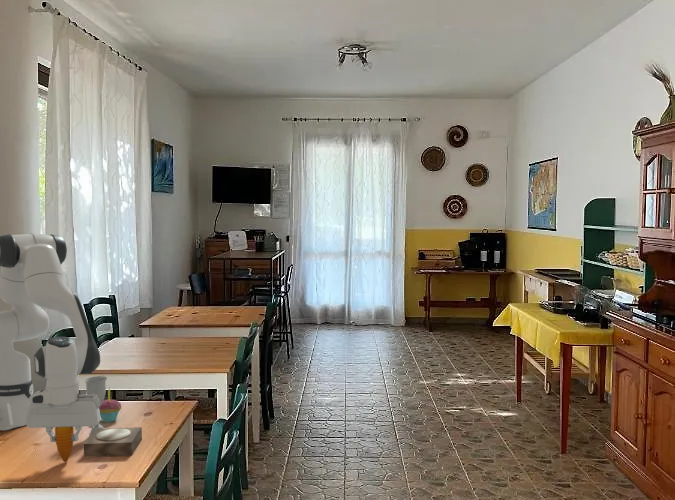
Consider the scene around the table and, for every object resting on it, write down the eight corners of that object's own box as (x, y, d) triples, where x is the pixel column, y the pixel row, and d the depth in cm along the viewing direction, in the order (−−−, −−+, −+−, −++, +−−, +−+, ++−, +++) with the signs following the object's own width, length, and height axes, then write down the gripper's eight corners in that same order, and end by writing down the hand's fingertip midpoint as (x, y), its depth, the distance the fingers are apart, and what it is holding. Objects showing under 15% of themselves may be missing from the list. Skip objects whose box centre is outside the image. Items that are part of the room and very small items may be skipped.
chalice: (101, 437, 223) (99, 382, 222) (82, 436, 225) (79, 381, 223) (112, 430, 230) (111, 376, 229) (94, 429, 232) (92, 375, 231)
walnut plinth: (83, 457, 206) (83, 442, 206) (97, 441, 220) (96, 427, 219) (131, 455, 207) (131, 440, 206) (142, 439, 221) (141, 425, 220)
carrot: (56, 466, 198) (54, 415, 198) (55, 460, 203) (53, 410, 202) (75, 463, 201) (73, 412, 200) (73, 458, 205) (72, 408, 204)
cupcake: (124, 420, 240) (123, 386, 240) (99, 425, 236) (98, 390, 235) (117, 414, 247) (116, 381, 247) (93, 419, 243) (91, 385, 242)
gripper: (102, 390, 204) (104, 436, 205) (31, 392, 203) (32, 438, 204) (96, 396, 198) (98, 443, 199) (22, 398, 197) (24, 446, 197)
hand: (64, 441), depth 201 cm, fingers closed on carrot, 5 cm apart
